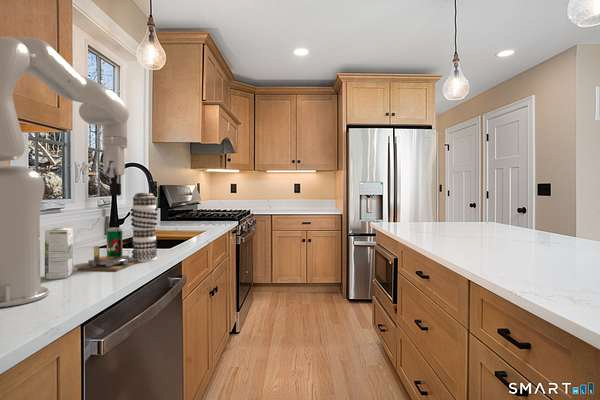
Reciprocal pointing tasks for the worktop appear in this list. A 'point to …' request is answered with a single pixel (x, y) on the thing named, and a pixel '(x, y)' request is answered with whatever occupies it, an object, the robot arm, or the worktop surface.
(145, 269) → the worktop surface
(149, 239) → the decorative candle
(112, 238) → the soda can
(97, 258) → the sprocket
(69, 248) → the syrup box
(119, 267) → the base board
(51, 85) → the robot arm
